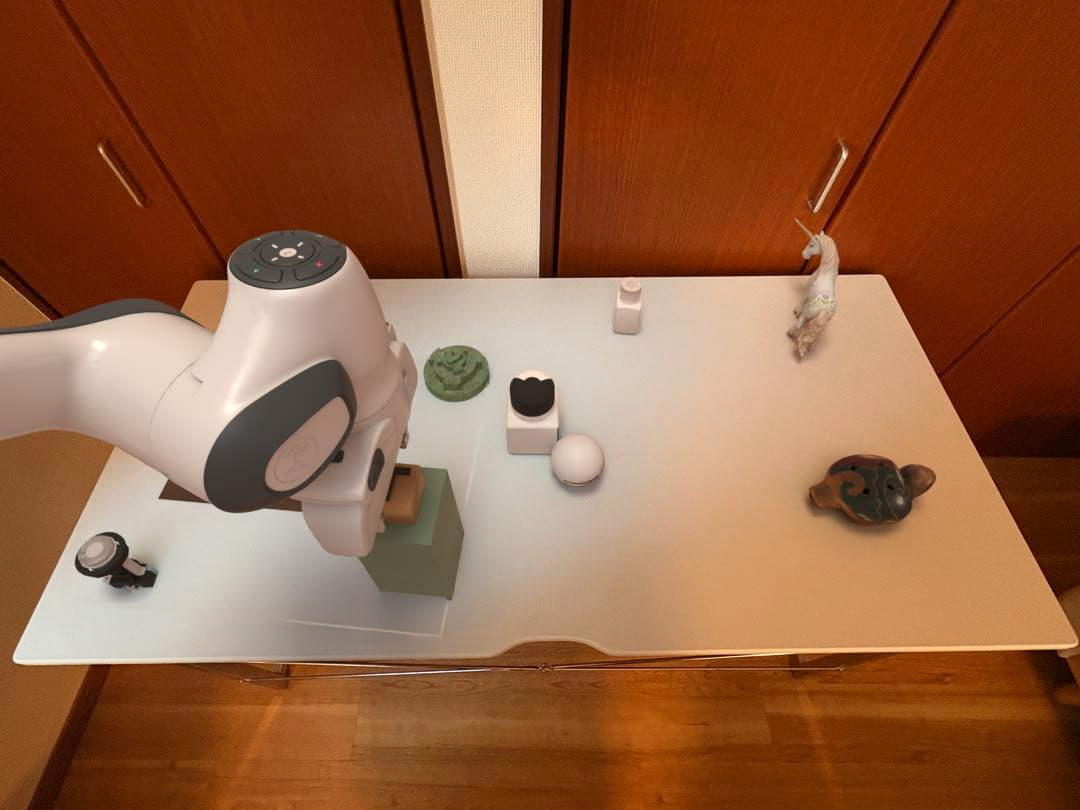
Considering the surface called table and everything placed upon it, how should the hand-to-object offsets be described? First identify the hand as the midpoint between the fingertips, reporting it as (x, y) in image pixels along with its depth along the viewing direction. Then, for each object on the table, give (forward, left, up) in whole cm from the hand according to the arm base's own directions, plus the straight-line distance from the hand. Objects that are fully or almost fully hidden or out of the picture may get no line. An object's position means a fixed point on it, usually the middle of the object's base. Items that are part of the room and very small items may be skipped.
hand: (389, 482), depth 62 cm
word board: (+11, +24, -21) cm, 34 cm away
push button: (-6, +36, -21) cm, 42 cm away
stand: (0, 0, -21) cm, 21 cm away
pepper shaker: (+44, -25, -21) cm, 55 cm away
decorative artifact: (+30, +1, -21) cm, 37 cm away
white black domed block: (+21, -12, -21) cm, 32 cm away
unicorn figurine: (+48, -52, -21) cm, 74 cm away
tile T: (0, 0, -4) cm, 4 cm away
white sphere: (+15, -20, -21) cm, 33 cm away
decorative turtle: (+14, -57, -21) cm, 62 cm away
